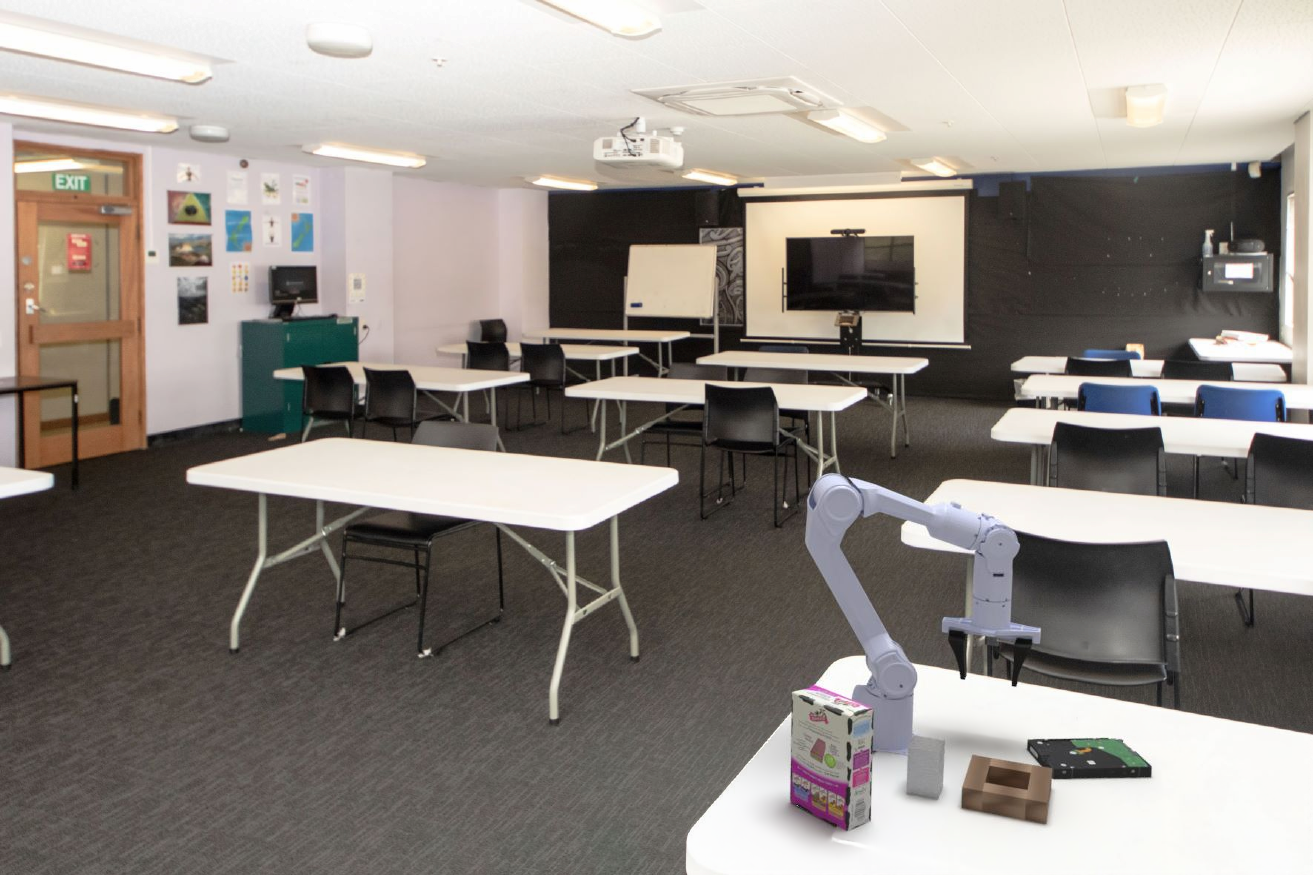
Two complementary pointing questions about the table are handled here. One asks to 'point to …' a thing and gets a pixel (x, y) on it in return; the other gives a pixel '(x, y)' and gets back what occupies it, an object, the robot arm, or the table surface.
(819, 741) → the candy bar box
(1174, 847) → the table surface
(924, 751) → the steel block
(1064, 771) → the disk drive
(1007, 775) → the pocket block
